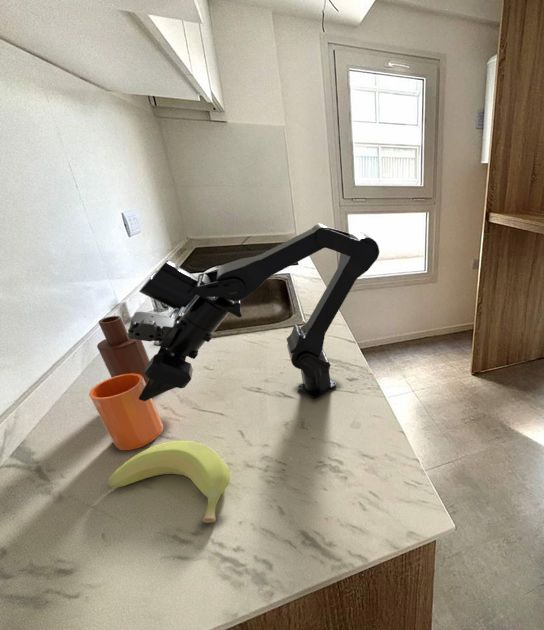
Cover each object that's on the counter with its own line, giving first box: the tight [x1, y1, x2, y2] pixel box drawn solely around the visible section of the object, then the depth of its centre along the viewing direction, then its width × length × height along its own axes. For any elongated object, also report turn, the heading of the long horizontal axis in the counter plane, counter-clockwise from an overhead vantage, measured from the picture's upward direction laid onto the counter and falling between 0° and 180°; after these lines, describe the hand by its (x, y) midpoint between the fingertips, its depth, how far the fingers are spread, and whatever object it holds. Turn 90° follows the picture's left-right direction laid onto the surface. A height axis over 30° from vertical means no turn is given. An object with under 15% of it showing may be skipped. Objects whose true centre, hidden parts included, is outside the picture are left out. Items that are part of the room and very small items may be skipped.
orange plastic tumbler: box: [88, 373, 164, 451], centre depth 62 cm, size 7×7×12 cm
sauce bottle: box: [96, 315, 150, 383], centre depth 71 cm, size 7×7×19 cm
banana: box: [106, 440, 231, 524], centre depth 53 cm, size 14×6×20 cm
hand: (146, 385), depth 61 cm, fingers open, 9 cm apart
